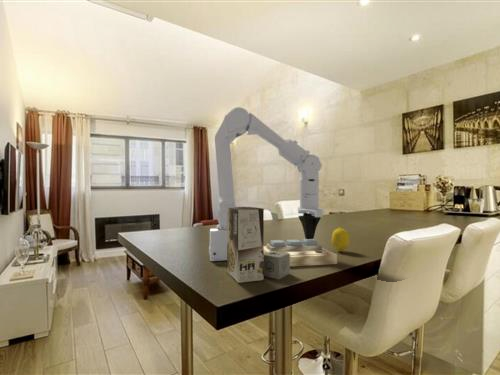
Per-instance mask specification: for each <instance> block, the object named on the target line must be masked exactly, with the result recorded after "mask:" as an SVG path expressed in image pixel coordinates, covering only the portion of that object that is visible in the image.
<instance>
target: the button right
mask: <svg viewBox="0 0 500 375" xmlns="http://www.w3.org/2000/svg"><path fill="white" fill-rule="evenodd" d="M301 242H302V244H303V245H305V246H314V245H317V244H318V240H316V239H315V238H314V239H306V238H304V239H301Z"/></svg>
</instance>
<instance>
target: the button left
mask: <svg viewBox="0 0 500 375" xmlns="http://www.w3.org/2000/svg"><path fill="white" fill-rule="evenodd" d="M269 241H270V244H271V246H272V247H286V241H284V240H282V239H273V240H269Z"/></svg>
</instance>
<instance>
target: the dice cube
mask: <svg viewBox="0 0 500 375" xmlns="http://www.w3.org/2000/svg"><path fill="white" fill-rule="evenodd" d="M290 274H291V266H290V253H284V252H278V251H270V252H267V253H264V277H266V278H272V279H276V280H281V279H282V278H285V277H288V276H289V275H290Z"/></svg>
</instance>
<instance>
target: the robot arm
mask: <svg viewBox="0 0 500 375" xmlns="http://www.w3.org/2000/svg"><path fill="white" fill-rule="evenodd" d="M245 133H247V135H248V136H250V135H251V136H252V135H253V136H254V135H255V136H258V137H260V138H261V139H263V140H265V141H266V142H268V143H269V144H270V145H272V146H273V147H275V148H277V150H278V155H279V156H280V157H282V158H284V159H285V160H286V161H287V162H288V163H290V164H292V165H293V166H294V167H296V168H297V170H298V172H299V207H297V214H302V215H298V219H299V221H300V222H301V223H300V224H301V225H302V229H303V233H304V234H303V235H304V237H305V238H304V239H314V240H315V234H316V230H317V227H318V224H319V222H320V221H321V218H323V217H324V210H323V208H321V207H320V181H319V171H320V170H321V169H322V166H323V164H322V162H321V160H320V158H319V157H318V156H317V155H315V154H311V151H310V150H308V149H307V150H305V148H303V147H301V146H300V145H299V144H298V143H299V142H298V141H297V140H296V139H294V140H292V139H290V138H289V139H284V138H283V137H281V136H280V135H279V134H278V133H277V132H275V131H274V130H273V129H272V128H270V127H269V126H268V125H267V124H265V123H264V122H263V121H261V120H260V119H259V118H258V117H257V116H256V115H255V114H253V113H251V112H248V110H247V109H245V108H243V107H234V108H232V109H231V110H230V111H228V112H227V113H226V114H225V116H224V117H223V120H222V122H221V124H220V126H219V128H218V130H217V131H216V133H215V135H214V145H215V146H214V148H215V160H216V170H217V181H218V182H217V184H218V185H217V186H218V196H219V201H218V204H219V210H218V213H217V216H216V219H217V222H218V224H217V225H216V227H215V228H212V227H211V228H210V229H209V246H208V254H209V261H211V262H216V261H217V262H218V261H219V262H221V261H227V208H235V207H237V206H236V201H235V191H234V188H235V186H234V178H233V177H234V175H233V165H232V153H231V144H232V143H233V142H234V141H235V140H236V139H237V138H239V137H241V136H243V135H244V134H245Z"/></svg>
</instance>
